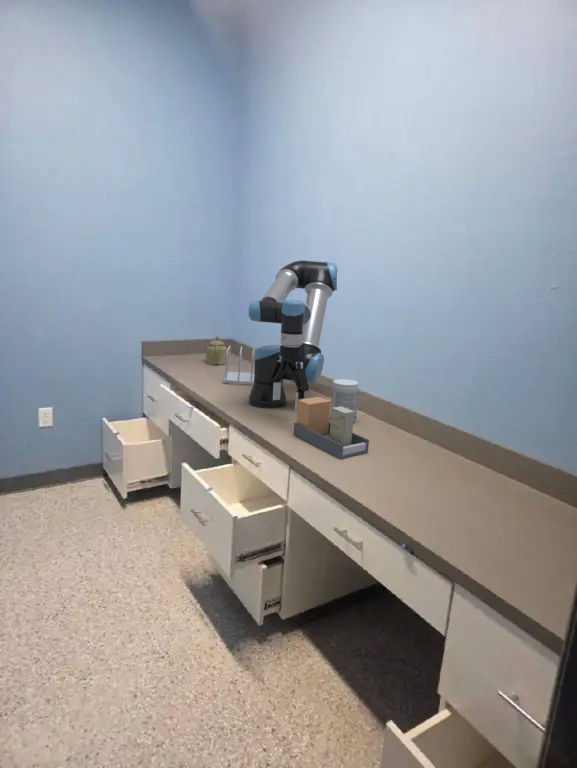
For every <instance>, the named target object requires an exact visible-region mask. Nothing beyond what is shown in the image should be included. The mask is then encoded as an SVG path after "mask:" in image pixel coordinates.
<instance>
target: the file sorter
mask: <svg viewBox="0 0 577 768" xmlns="http://www.w3.org/2000/svg"><path fill="white" fill-rule="evenodd" d="M231 351H232V345H228V347H227V355H226V364H225V374H224V375H225V376H224V378H223V384H225V383H229V384H230V385H240V384H250V385H249V386H253V384H254V367H255V360H254V359H255V352H256V346H254V347H253V348H252V354H251V365H250V366H251V368H250V372H246V371H245V372H243V370H242V369H243V346H242V345H241V347H240V349H239V358H238V359H239V360H238V371H231V355H232V354H231V353H232V352H231ZM228 356H229V359H228ZM229 384H228V385H229Z"/></svg>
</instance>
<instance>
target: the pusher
mask: <svg viewBox="0 0 577 768" xmlns="http://www.w3.org/2000/svg"><path fill="white" fill-rule="evenodd" d="M330 416H331V400H329V399H326V398H323V397H321V396H316V397H308V398H304V399H300V400H298V406H297V410H296V423H298V424H300V425H302V426H304V427H306V428H308V429H310V430H312V431H315V432H317V433H319V434H324V433H328V431H329V422H330V420H331V418H330Z"/></svg>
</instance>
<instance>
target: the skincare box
mask: <svg viewBox="0 0 577 768" xmlns="http://www.w3.org/2000/svg"><path fill="white" fill-rule="evenodd" d="M354 414H355V411H352V410H350V409H348V408H345V407H342V406H340V407H333V408H332V415H331V414H330V416H331V418H330V423H331V424H330V433H329V439H331V440H334V441H336V442H338V443H340V444H342V445H344V446H343V447H345V446H349V445H351V439H352V432H353V430H354Z"/></svg>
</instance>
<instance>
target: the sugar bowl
mask: <svg viewBox="0 0 577 768" xmlns="http://www.w3.org/2000/svg"><path fill="white" fill-rule="evenodd" d="M225 345H226V343H225V342H223V340H220V336H219V335H218V334H217V335H216V336H215V339H214V340H211V342H209V345H208V346H207V347H206V362H207V363H209V364H208V365H210V364H225V363H226V355H227V350H228V347H227V346H225ZM207 363H206V364H207ZM225 365H226V364H225Z"/></svg>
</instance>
